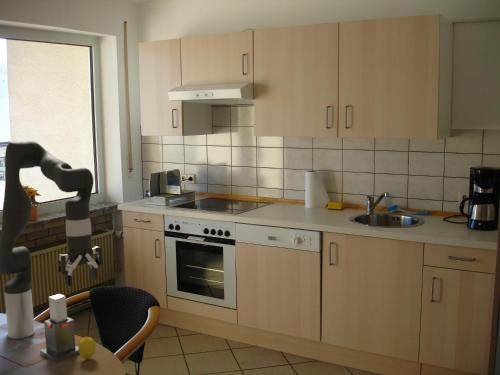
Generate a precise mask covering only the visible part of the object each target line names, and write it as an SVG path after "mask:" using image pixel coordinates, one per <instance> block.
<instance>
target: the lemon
mask: <svg viewBox="0 0 500 375" xmlns="http://www.w3.org/2000/svg"><path fill="white" fill-rule="evenodd" d="M96 348H97V346H96V342H95V341H94V339H93V338H92V337H89V336H85V337H83V338H82V339H80V341H79V343H78V349H79V354H78V355H80V357H82V358H83V359H86V360H89V359H91V358H92V357H94V355H95V353H96Z"/></svg>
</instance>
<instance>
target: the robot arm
mask: <svg viewBox="0 0 500 375" xmlns="http://www.w3.org/2000/svg"><path fill="white" fill-rule="evenodd" d="M4 153H5V154H4V160H5V161H4V163H5V164H4V170H5V174H4V175H5V179H4V181H5V183H4V194H3V195H4V198H3V206H2V217H1V220H2V222H1V231H0V274H1V275H3V276H9V275H14V274H15V275H14V276H13V278H10V280H8V281H7V282H5V283H4V285H3V290H4V291H3V292H4V302H5V316H6V324H7V337H8V338H9V339H12V340H14V339H15V340H19V339H25V338H28V337H31V336H33V335H34V334H35V320H34V308H33V307H34V306H33V295H32V294H33V293H32V280H33V277H32V276H33V274H32V256H31V253H30V250H29V249H28V248H27V247H26V246H18V247H14V246H15V245H16V244H15V243H16V241H17V239H18V238H19V237H20V235H21V234H22V232H23V231H24V230H25V229H26V228H27V226H28V224H29V223H30V220H31V215H32V205H33V204H32V199H31V197H30V195H29V194H28V192H27V190H26V189H25V187H24V186H23V184H22V182H21V178H20V171H21V169H32V168H36V167H38V168H40V172H41V175H43V177H44V178H47V179H48V180H50V181H51V182H54V184H55V186H57V188H58V189H59V190H60V191H61V192H63V193H76V195H75V196H74V197H73V198H70V199H68V200H66V202H65V204H64V206H65V207H64V208H65V210H64V212H65V237H66V249H67V253H66V254H60V253H59V254H58V255H57V273H58V274H60V275H63V276H64V283H65V286H67V287H69V288H72V287H73V275H72V273H73V271H74V270H75V269H76V268H77V267H78V266H81V265H86V264H88V265H89V266H90V268H89V269H90V279H91V280H93V281H96V280H97V279H98V276H99V275H98V273H99V272H98V267H99V266H102V265H103V263H104V262H103V252H102V247H100V246H96V245H95V246H94V247H92V246H93V238H92V222H91V219H90V218H91V217H90V202H91V196H92V191H93V187H94V175H93V172H92V171H91V170H90V169H89V168H86V167H77V168H72V166H71V165H70V164H69V163H67V162H65V161H63V160H61V159H59V158H57V157H56V156H54V155H53V154H52V153H50V151H48V150H47V149H45V147H44V146H43V145H41V144H40V143H38V142H36V141H33V140H22V141H12V142H9V143H8V144H7V145H6V148H5V152H4ZM92 255H94V258H92Z"/></svg>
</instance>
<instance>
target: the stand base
mask: <svg viewBox="0 0 500 375" xmlns="http://www.w3.org/2000/svg"><path fill="white" fill-rule="evenodd" d="M43 322H44V334H45V348H42V349H41V350H39V354H40V355H41V356H43V357H44V358H46V359H48V360H49V361H50V362H52V363H59V362H63V361H64V360H66V359H70V358H73V357H74V355H75V356H77V355H80V354H79V349H78V347H79V345H78V346H77V345H76V336H75V335H76V334H75V320H74V319H73V318H71V317H69V316H67V321H65V322H62V323H59V324H54V323H52V322H51V321H50V318H49V319H46V320H44V321H43Z"/></svg>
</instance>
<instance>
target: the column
mask: <svg viewBox="0 0 500 375" xmlns="http://www.w3.org/2000/svg"><path fill="white" fill-rule="evenodd" d="M48 305H49V319H50V321H51V322H52V323H54V324H59V323H62V322H65V321H67V317H68V310H67V297H66V295H64V294H61V293H57V294H55V295H51V296H48Z"/></svg>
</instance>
